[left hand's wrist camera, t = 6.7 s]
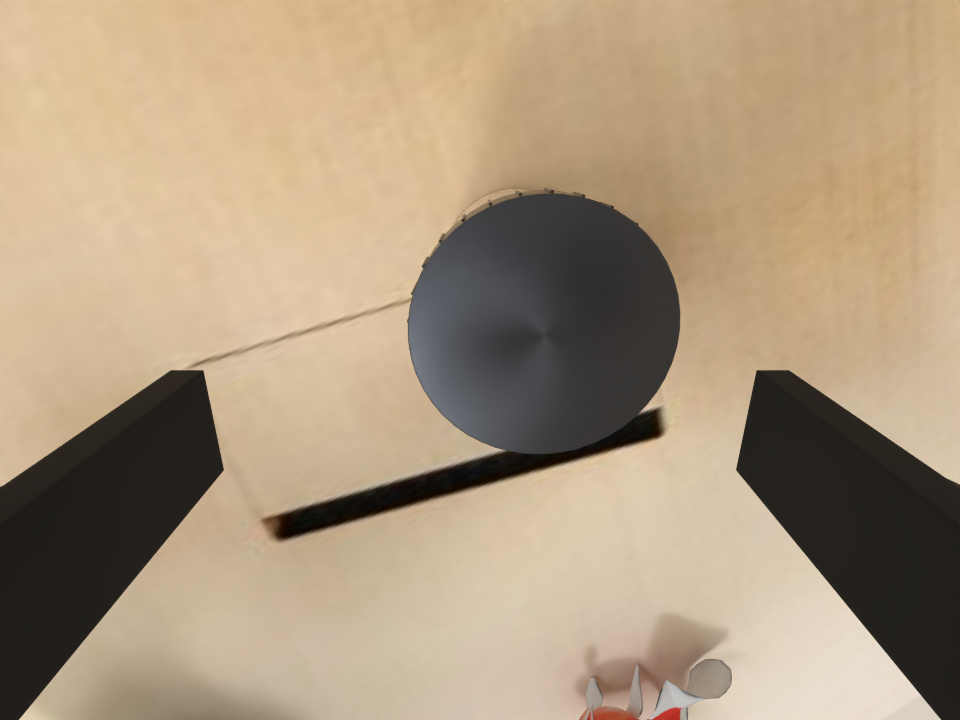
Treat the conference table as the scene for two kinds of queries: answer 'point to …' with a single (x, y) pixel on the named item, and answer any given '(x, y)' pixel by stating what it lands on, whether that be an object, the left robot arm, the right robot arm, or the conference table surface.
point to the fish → (664, 694)
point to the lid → (543, 322)
